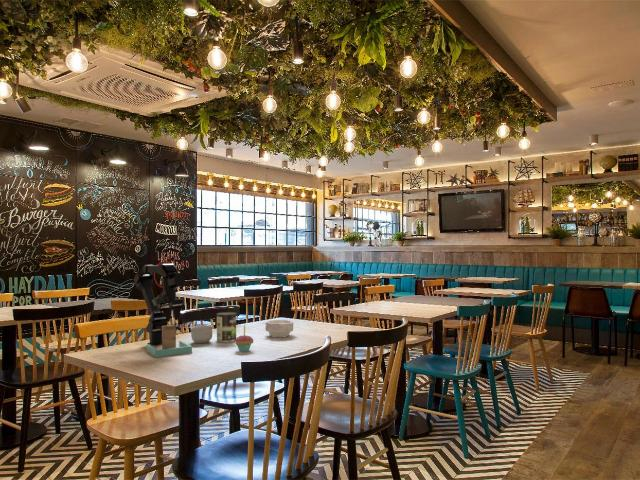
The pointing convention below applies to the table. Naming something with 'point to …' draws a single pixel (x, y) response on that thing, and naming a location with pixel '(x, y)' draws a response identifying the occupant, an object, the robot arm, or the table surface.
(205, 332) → the teacup
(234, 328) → the coffee can
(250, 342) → the cupcake
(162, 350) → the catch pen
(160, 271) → the robot arm
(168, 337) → the handle block
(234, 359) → the table surface
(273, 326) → the paper bowls
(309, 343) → the table surface
